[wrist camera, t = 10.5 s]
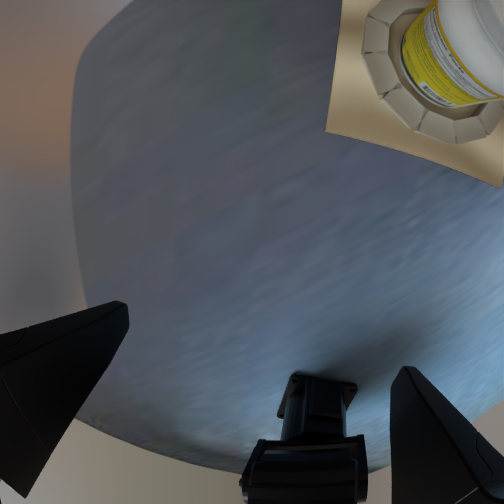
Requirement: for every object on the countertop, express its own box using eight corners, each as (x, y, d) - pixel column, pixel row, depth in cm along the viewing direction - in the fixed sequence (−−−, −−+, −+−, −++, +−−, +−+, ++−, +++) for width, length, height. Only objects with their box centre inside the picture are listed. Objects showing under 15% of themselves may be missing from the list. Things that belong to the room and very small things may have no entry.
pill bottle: (460, 30, 12) (546, -23, 2) (481, 109, 14) (592, 104, 4) (384, 24, 13) (441, -65, 3) (407, 109, 15) (506, 82, 5)
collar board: (495, 186, 16) (509, 191, 14) (324, 131, 18) (326, 130, 16) (505, 30, 11) (517, 25, 9) (345, -34, 12) (347, -47, 11)
